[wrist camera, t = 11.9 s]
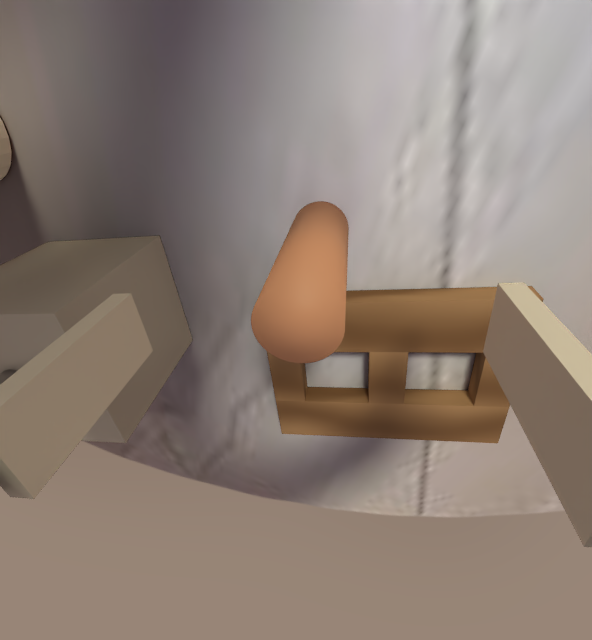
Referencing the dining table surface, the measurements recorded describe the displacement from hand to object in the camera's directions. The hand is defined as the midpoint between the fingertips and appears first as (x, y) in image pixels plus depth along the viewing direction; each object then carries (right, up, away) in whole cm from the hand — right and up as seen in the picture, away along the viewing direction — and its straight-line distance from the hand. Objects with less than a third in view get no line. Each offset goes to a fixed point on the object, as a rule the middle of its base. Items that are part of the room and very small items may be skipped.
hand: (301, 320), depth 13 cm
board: (+6, -3, +12) cm, 14 cm away
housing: (-12, +2, +12) cm, 17 cm away
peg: (+1, +5, +7) cm, 9 cm away
